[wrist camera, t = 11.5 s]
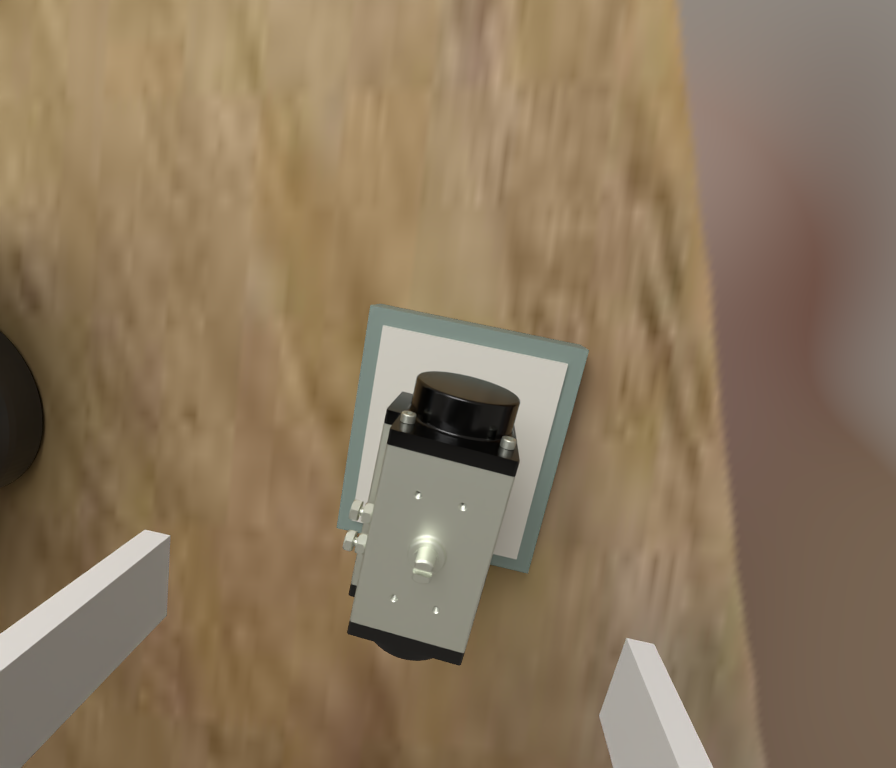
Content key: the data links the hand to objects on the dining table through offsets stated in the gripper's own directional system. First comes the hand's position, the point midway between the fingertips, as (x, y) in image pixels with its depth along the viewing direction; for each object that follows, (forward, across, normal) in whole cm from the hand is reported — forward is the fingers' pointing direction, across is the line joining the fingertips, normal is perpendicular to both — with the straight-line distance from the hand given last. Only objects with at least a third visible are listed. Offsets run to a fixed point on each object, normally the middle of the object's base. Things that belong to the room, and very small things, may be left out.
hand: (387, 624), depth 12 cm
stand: (+18, +1, 0) cm, 18 cm away
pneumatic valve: (+15, +1, 0) cm, 15 cm away
